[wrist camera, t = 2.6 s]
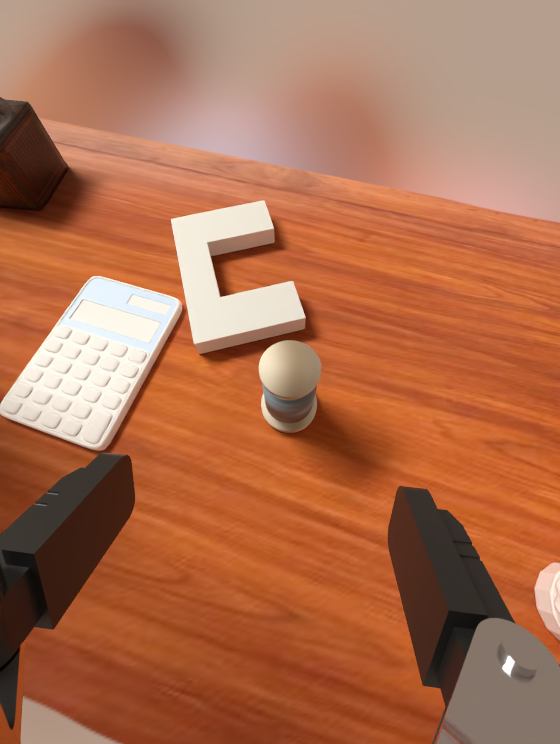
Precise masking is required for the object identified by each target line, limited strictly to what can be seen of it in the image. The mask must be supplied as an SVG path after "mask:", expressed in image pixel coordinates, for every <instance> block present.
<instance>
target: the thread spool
mask: <svg viewBox="0 0 560 744" xmlns="http://www.w3.org/2000/svg"><path fill="white" fill-rule="evenodd" d="M259 374H260V379H261V382H262V385H263V391H264V393H263V396H262V400H261V408H262V413H263V416H264V418H265V420H266V422H267V423H268V424H269V425H270V426H271V427H272V428H274V429H275V430H277V431H280V432H283V433H295V432H299V431H301V430H303V429H305V428H306V427H307V426H308V425H309V424H310V423H311V422H312V420H313V419H314V417H315V413H316V410H317V399H316V396H315V392H316V388H317V384H318V382H319V379H320V375H321V363H320V359H319V357H318V355H317V354H316V352H315V351H314V350H313V349H312V348H311V347H309V346H308V345H306V344H304V343H302V342H299V341H294V340H286V341H281V342H278V343H275V344H274V345H272V346H270V347H269V348H268V349H267V350H266V351H265V352H264V354H263V355H262V357H261V359H260V363H259Z"/></svg>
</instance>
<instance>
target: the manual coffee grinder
mask: <svg viewBox="0 0 560 744" xmlns="http://www.w3.org/2000/svg"><path fill="white" fill-rule="evenodd" d="M67 169H68V165H67V164H66V162H65V161H64V160H63V158H62V156H61V155H60V153H59V151H58V150H57V148H56V146H55V145H54V143H53V141H52V140H51V138H50V136H49V135H48V133H47V131H46V130H45V128H44V126H43V125H42V123H41V121H40V120H39V118H38V117H37V115H36V113H35V112H34V110H33V108H32V107H31V105H30V104H29V103H28V102H23V101H13V100H4V99H3V98H0V207H3V208H12V209H25V210H42V208H43V207H44V206H45V205H46V203H47V202H48V201H49V199H50V197H51V196H52V194H53V193H54V191H55V189H56V188H57V186H58V185H59V183H60V182H61V180H62V178H63V177H64V175H65V173H66V172H67Z"/></svg>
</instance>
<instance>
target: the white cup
mask: <svg viewBox="0 0 560 744" xmlns="http://www.w3.org/2000/svg"><path fill="white" fill-rule="evenodd" d="M534 590H535V598H536V606H537V610H538V612H539V614H540V616H541V618H542V620H543V622H544V624H545V626H546V628H547V629H548V630H549V631H550V632H551V633H552V634H553V635H554V636H555V637H556V638H557V639H558V640H559V641H560V562H556V563H551V564H550V565H549V566H547V567H546V568H545V569H543V570H542V571H541V572H540V573H539V576H538V579H537V582H536V585H535V588H534Z"/></svg>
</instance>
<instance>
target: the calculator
mask: <svg viewBox="0 0 560 744" xmlns="http://www.w3.org/2000/svg"><path fill="white" fill-rule="evenodd" d="M182 309H183V308H182V303H181V302H180V301H179V300H178V299H176V298H174V297H172V296H168V295H165V294H161V293H158V292H154V291H151V290H147V289H144V288H140V287H137V286H133V285H130V284H126V283H123V282H119V281H116V280H112V279H108V278H105V277H100V276H94V277H92V278H90V279H89V280H88V281H87V282H86V283H85V285H84V286H83V287H82V289H81V290H80V292H79V293H78V294H77V296H76V297H75V299H74V300H73V301H72V303H71V304H70V306H69V307H68V308H67V310H66V311H65V313H64V314H63V316H62V317H61V318H60V320H59V321H58V323H57V324H56V325H55V327H54V328H53V330H52V331H51V332H50V334H49V335H48V337H47V338H46V339H45V341H44V342H43V344H42V345H41V347H40V348H39V349H38V351H37V352H36V354H35V355H34V356H33V358H32V359H31V361H30V362H29V363H28V365H27V366H26V368H25V369H24V370H23V372H22V373H21V375H20V376H19V378H18V379H17V380H16V382H15V383H14V385H13V386H12V387H11V389H10V390H9V392H8V393H7V394H6V396H5V397H4V399H3V400H2V402H1V404H0V414H1V415H2V416H4V417H6V418H8V419H10V420H13V421H15V422H18V423H21V424H23V425H26V426H29V427H32V428H34V429H37V430H40V431H42V432H45V433H48V434H50V435H53V436H56V437H59V438H61V439H64V440H67V441H69V442H72V443H75V444H77V445H80V446H83V447H86V448H88V449H92V450H97V451H101V450H104V449H106V448H107V447H108V445H109V444H110V443H111V441H112V439H113V438H114V436H115V434H116V432H117V430H118V429H119V427H120V425H121V423H122V421H123V419H124V418H125V416H126V414H127V412H128V410H129V408H130V407H131V405H132V403H133V401H134V399H135V397H136V396H137V394H138V392H139V390H140V388H141V386H142V385H143V383H144V381H145V379H146V377H147V375H148V373H149V372H150V370H151V368H152V366H153V364H154V362H155V361H156V359H157V357H158V355H159V353H160V351H161V350H162V348H163V346H164V344H165V342H166V340H167V339H168V337H169V335H170V333H171V331H172V329H173V327H174V326H175V324H176V322H177V320H178V318H179V316H180V314H181V312H182ZM61 342H62V343H61ZM117 360H118V361H117ZM90 369H91V370H90ZM30 385H31V386H30ZM50 392H51V393H50ZM83 399H84V400H83ZM110 413H111V414H110ZM64 433H65V434H64Z"/></svg>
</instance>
